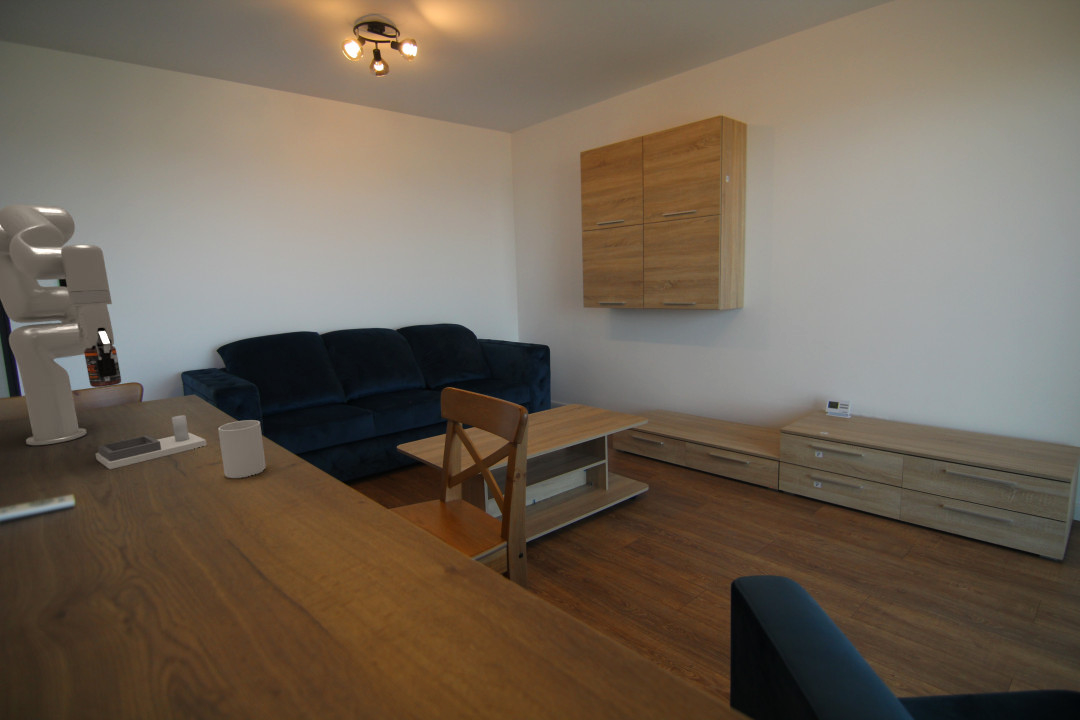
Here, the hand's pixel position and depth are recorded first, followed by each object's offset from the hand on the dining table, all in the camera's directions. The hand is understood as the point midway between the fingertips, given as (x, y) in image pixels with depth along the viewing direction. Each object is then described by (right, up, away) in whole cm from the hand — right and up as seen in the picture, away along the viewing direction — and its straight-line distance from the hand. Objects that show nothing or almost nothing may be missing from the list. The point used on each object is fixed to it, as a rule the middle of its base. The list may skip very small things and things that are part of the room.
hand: (104, 374), depth 130 cm
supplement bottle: (0, -3, 0) cm, 3 cm away
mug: (+38, -21, -10) cm, 45 cm away
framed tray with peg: (+8, -19, +5) cm, 22 cm away
